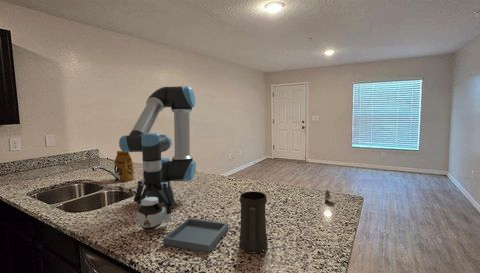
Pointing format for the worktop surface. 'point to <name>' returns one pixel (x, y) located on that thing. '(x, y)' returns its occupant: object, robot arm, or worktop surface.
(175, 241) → the tray
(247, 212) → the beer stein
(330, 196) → the architectural model
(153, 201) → the spread jar
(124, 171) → the coffee package
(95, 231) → the worktop surface
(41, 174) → the worktop surface
